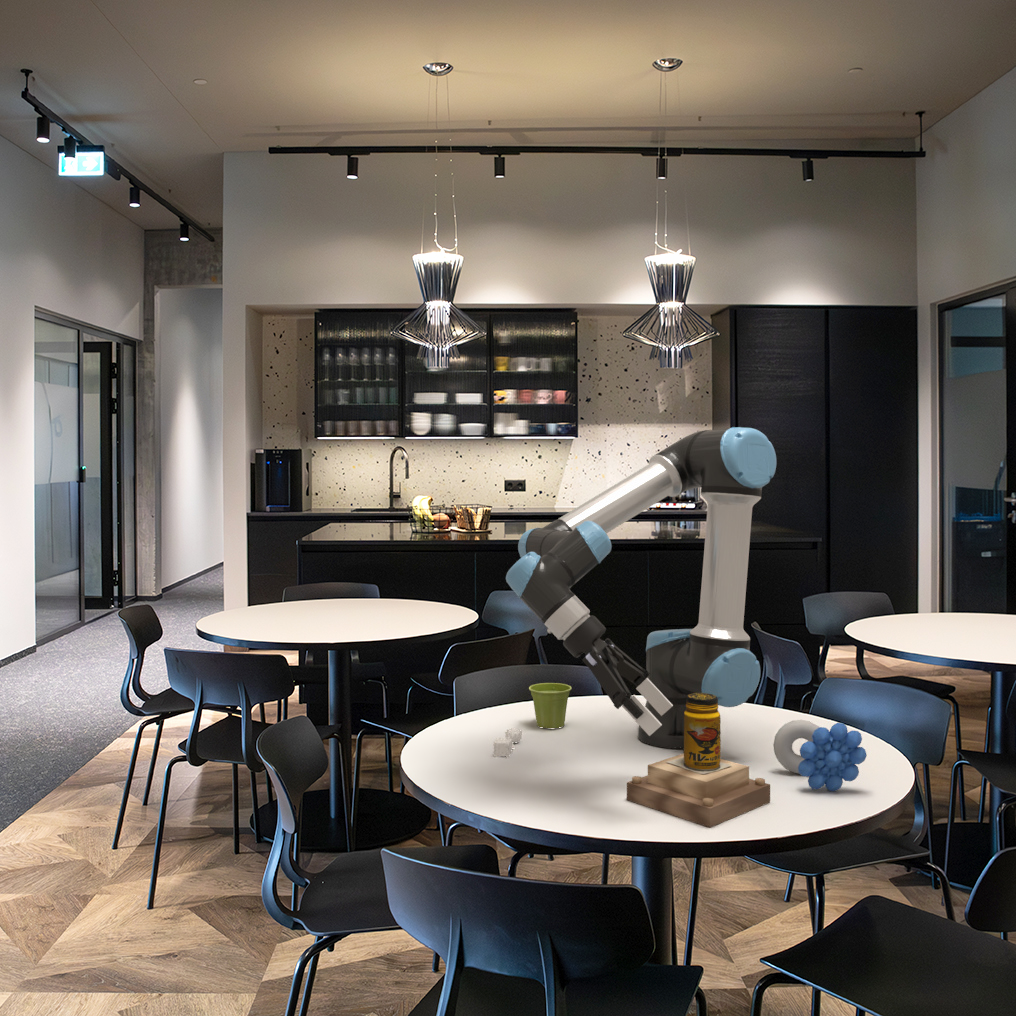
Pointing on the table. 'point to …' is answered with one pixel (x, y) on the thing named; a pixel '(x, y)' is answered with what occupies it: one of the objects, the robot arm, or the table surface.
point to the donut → (786, 739)
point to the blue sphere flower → (831, 757)
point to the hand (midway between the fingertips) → (661, 720)
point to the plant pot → (550, 703)
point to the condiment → (701, 735)
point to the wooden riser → (699, 792)
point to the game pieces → (507, 742)
